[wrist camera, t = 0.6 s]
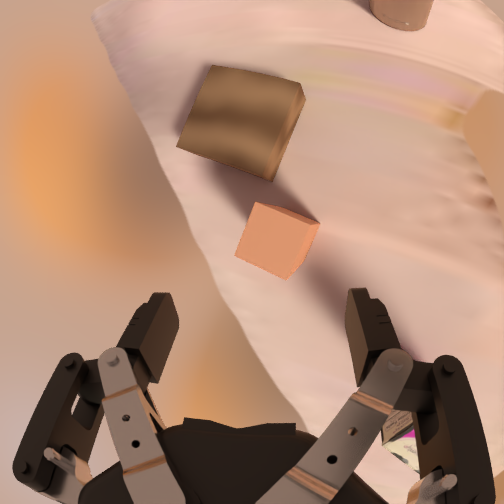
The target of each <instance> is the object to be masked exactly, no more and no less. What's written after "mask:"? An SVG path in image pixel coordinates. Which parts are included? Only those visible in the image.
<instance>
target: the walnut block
mask: <svg viewBox="0 0 504 504" xmlns="http://www.w3.org/2000/svg"><path fill="white" fill-rule="evenodd" d="M305 101H306V98H305V95H304V93H303V90H302V87H301V84H300V83H298V82H294V81H290V80H287V79H283V78H278V77H274V76H270V75H265V74H261V73H256V72H251V71H246V70H240V69H235V68H228V67H222V66H215V65H212V66H211V68H210V71H209V73H208V75H207V77H206V79H205V81H204V83H203V85H202V87H201V89H200V91H199V94H198V96H197V98H196V100H195V103H194V105H193V107H192V109H191V112H190V114H189V116H188V119H187V121H186V123H185V126H184V128H183V131H182V133H181V136H180V138H179V141H178V143H177V146H176V147H178V148H181V149H183V150H186V151H188V152H191V153H193V154H196V155H199V156H202V157H205V158H208V159H211V160H214V161H217V162H220V163H223V164H226V165H228V166H231V167H234V168H237V169H240V170H242V171H245V172H248V173H250V174H253V175H256V176H258V177H261V178H264V179H266V180H269V181H272V182H273V179H274V177H275V174H276V172H277V169H278V167H279V165H280V162H281V160H282V157H283V155H284V152H285V150H286V147H287V145H288V142H289V140H290V137H291V135H292V132H293V130H294V128H295V125H296V123H297V120H298V118H299V115H300V113H301V110H302V108H303V106H304V103H305Z"/></svg>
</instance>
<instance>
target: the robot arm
mask: <svg viewBox="0 0 504 504" xmlns="http://www.w3.org/2000/svg"><path fill="white" fill-rule="evenodd" d="M433 1H434V0H370V2H369V3H370V9H371V11H372V13H373V14H374V15H375V16H376V17H377V18H378V19H379V20H380V21H382V22H383V23H385V24H387V25H388V26H391V27H393V28H396V29H399V30H404V31H416V30H419V29H422V28H423V27H424V26H425V24H426V22H427V19H428V16H429V13H430V10H431V7H432V4H433ZM345 328H346V333H347V337H348V342H349V347H350V352H351V357H352V362H353V367H354V373H355V378H356V384H357V387H360V388H359V389H358V391H357V392H356V393H353V394H352V395H351V397H350V398H349V399H348V401H347V402H346V403H345V405H344V406H343V408H342V409H341V410H340V412H339V413H338V414H337V416H336V417H335V418H334V420H333V421H332V422H331V424H330V425H329V426H328V428H327V429H326V430H325V431H324V433H323V434H322V435H321V436H320V438H317V437H315V436H314V435H311V434H309V433H306V432H303V431H299V430H296V423H267V424H261V425H256V426H251V427H245V428H233V427H229V426H226V425H223V424H220V423H217V422H213V421H211V420H202V419H193V418H184V421H183V424H181V425H176V426H172V427H169V428H167V427H166V426H165V424H164V423H163V421H162V419H161V417H160V415H159V412H158V410H157V408H156V406H155V404H154V401H153V399H152V397H151V394H150V392H149V390H148V388H147V387H148V384H149V382H151V383H159V380H160V377H161V374H162V372H163V369H164V366H165V363H166V361H167V358H168V355H169V353H170V350H171V348H172V345H173V342H174V340H175V337H176V334H177V332H178V329H179V318H178V315H177V311H176V309H175V305H174V302H173V299H172V297H171V294H170V293H153V294H152V296H151V297H150V300H149V301H148V303H143V304H142V305H141V306H140V307H139V308H138V309H137V310H136V312H135V313H134V315H133V317H132V319H131V320H130V322H129V325H128V326H127V328H126V329H125V331H124V333H123V335H122V337H121V338H120V340H119V342H118V344H117V346H116V347H114V348H110V349H108V350H106V351H104V352H103V353H102V354H101V355H100V357H99V359H94V360H87V361H84V359H83V358H82V356H81V355H80V354H78V353H70V354H67V355H66V356H64V357H63V358H62V359H61V360H60V362H59V364H58V366H57V367H56V369H55V371H54V373H53V375H52V377H51V379H50V381H49V382H48V384H47V386H46V388H45V390H44V392H43V394H42V396H41V398H40V400H39V402H38V404H37V407H36V409H35V411H34V413H33V415H32V418H31V420H30V422H29V424H28V426H27V429H26V431H25V433H24V436H23V438H22V441H21V443H20V446H19V448H18V451H17V453H16V456H15V458H14V461H13V473H14V476H15V477H16V479H17V480H18V481H20V482H21V483H23V484H25V485H26V486H28V487H30V488H31V489H33V490H34V491H36V492H38V493H40V494H41V495H44V496H45V497H48V498H50V499H52V500H56V501H58V502H60V503H62V504H389V503H387V502H386V501H385V500H384V499H383V498H382V497H381V496H380V495H378V494H377V493H376V492H375V491H374V490H373V489H372V488H371V487H370V486H369V485H367V484H366V483H365V482H364V481H363V480H362V479H361V478H360V477H359V476H358V475H357V474H356V473H355V472H354V470H355V468H356V467H357V466H358V464H359V463H360V461H361V460H362V458H363V457H364V455H365V454H366V452H367V451H368V449H369V448H370V446H371V445H372V443H373V442H374V440H375V438H376V437H377V435H378V434H379V432H380V430H381V429H382V427H383V425H384V423H385V422H386V420H387V418H388V416H389V415H390V413H391V411H392V410H400V411H408V412H411V415H412V420H413V426H414V433H415V439H416V446H417V454H418V462H419V471H420V480H419V481H418V482H416V483H415V484H414V485H413V486H412V487H411V489H410V491H409V493H408V498H407V503H406V504H495V498H496V495H495V487H494V480H493V473H492V467H491V462H490V457H489V452H488V447H487V443H486V438H485V434H484V430H483V427H482V423H481V419H480V416H479V412H478V409H477V406H476V402H475V399H474V396H473V393H472V390H471V387H470V384H469V381H468V378H467V376H466V373H465V370H464V368H463V365H462V363H461V362H460V361H459V360H458V359H457V358H455V357H453V356H450V355H442V356H440V357H438V358H437V359H436V360H435V361H434V363H426V362H419V361H415V360H412V358H411V356H410V355H409V354H408V353H407V352H405V351H404V350H402V349H401V347H400V344H399V341H398V338H397V336H396V333H395V330H394V328H393V325H392V323H391V320H390V317H389V316H388V312H387V309H386V307H385V305H384V304H383V303H382V302H381V301H380V300H379V299H378V298H375V299H370V296H369V294H368V291H367V289H366V288H351V289H349V291H348V298H347V305H346V313H345ZM77 394H78V395H79V397H80V398H79V400H78V402H77V405H76V408H75V410H74V412H73V414H71V408H72V405H73V403H74V401H75V398H76V396H77ZM104 413H105V415H106V419H107V423H108V426H109V430H110V433H111V436H112V439H113V442H114V445H115V448H116V451H117V454H118V456H119V459H120V461H119V462H117V463H116V464H114V465H113V466H111V467H110V468H108V469H107V470H105V471H104V472H102V473H101V474H99V475H98V476H96V477H95V478H92V475H91V474H90V468H89V466H88V460H89V458H90V455H91V451H92V448H93V445H94V442H95V438H96V436H97V433H98V430H99V427H100V424H101V421H102V419H103V416H104Z"/></svg>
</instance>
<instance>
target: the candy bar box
mask: <svg viewBox="0 0 504 504" xmlns="http://www.w3.org/2000/svg"><path fill="white" fill-rule="evenodd" d="M381 436H382V446H383V447H384V448H386V449H387V450H388V451H390V452H391V453H392V454H393V455H395V456H396V457H397V458H399V459H400V460H401V461H402V462H404V463H405V464H406V465H408V466H409V467H410V468H412V469H413V470H415V471H416V472H417V473H419V474H420V471H419V462H418V454H417V446H416V439H415V433H414V426H413V420H412V415H411V412H408V411H400V410H392V411H391V413H390V415H389V416H388V418H387V420H386V422H385V423H384V425H383V427H382V429H381Z"/></svg>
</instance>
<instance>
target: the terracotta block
mask: <svg viewBox="0 0 504 504" xmlns="http://www.w3.org/2000/svg"><path fill="white" fill-rule="evenodd" d="M319 225H320V223H318V222H316V221H313V220H311V219H309V218H306V217H304V216H302V215H299V214H297V213H295V212H292V211H290V210H288V209H285V208H283V207H278V206H273V205H269V204H264V203H259V202H255V204H254V206H253V209H252V211H251V214H250V216H249V219H248V222H247V224H246V227H245V229H244V232H243V234H242V237H241V239H240V242H239V244H238V247H237V250H236V252H235V255H234V256H236V257H238V258H240V259H242V260H244V261H246V262H249V263H251V264H253V265H255V266H257V267H259V268H261V269H263V270H265V271H267V272H270V273H272V274H274V275H276V276H278V277H280V278H282V279H284V280H287V279H288V278H289V277H290V276H291V275H292V274H293V273H294V272H295V270H296V269H297V268H298V267H299V266H300V265H301V264H302V263H303V262H304V260H305V258H306V256H307V253H308V251H309V249H310V246H311V244H312V242H313V240H314V237H315V235H316V233H317V230H318V228H319Z"/></svg>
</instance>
